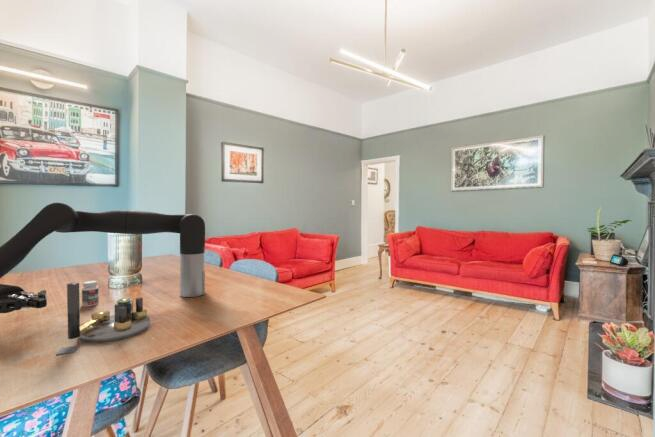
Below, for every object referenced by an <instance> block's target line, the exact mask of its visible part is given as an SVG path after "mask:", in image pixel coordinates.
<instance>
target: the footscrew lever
mask: <svg viewBox="0 0 655 437" xmlns="http://www.w3.org/2000/svg"><path fill="white" fill-rule="evenodd" d="M66 299H67V300H66V302H67V307H66V308H67V340H73V339H74V340H76V339H79V337H80V335H82V334H83V333H85V332H86V331H88V330H89V329H91V328H92V327H94V326H95V325H97V324H98V323H100V322H104V321H107V320H109V319H110V316H111V311H110V310H100V311H99V310H98V311H95V312H92V313H91V319H90V320H89V321H87V322H86V323H83V324H82V325H81V315H80V314H81V313H80V312H81V311H80V309H81V308H80V307H81V306H80V282H71V283H67V284H66Z"/></svg>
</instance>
